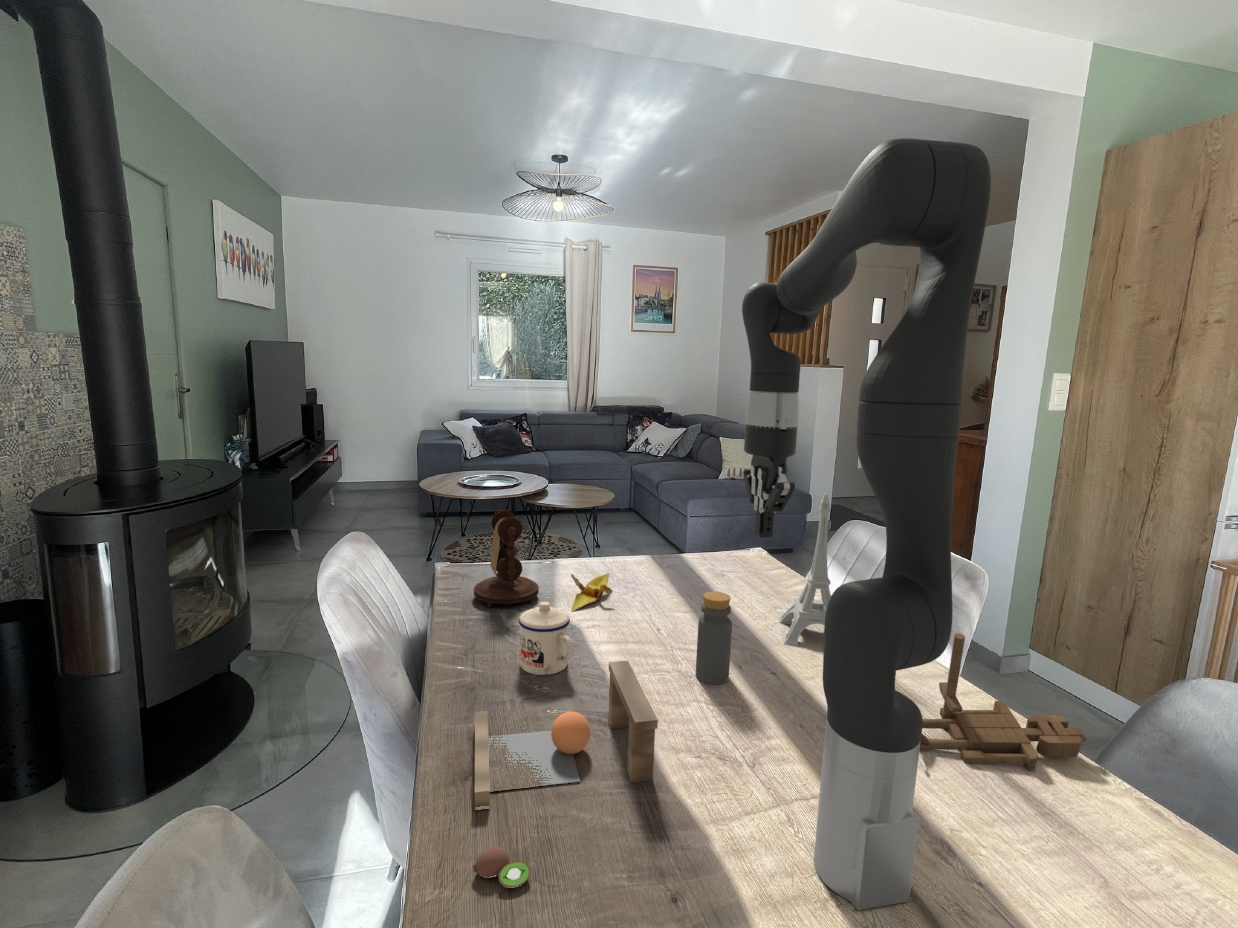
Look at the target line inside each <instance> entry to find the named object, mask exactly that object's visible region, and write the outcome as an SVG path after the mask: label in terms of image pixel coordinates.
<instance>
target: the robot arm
mask: <svg viewBox="0 0 1238 928" xmlns="http://www.w3.org/2000/svg"><path fill="white" fill-rule="evenodd" d="M991 184H992V177H991V166H990V163H989V160H988V157H987V155H986V153H984V151H983V150H982V148H980V147H978V146H976V145H974V144H971V143H965V142H958V141H943V140H931V139H920V138H919V139H918V138H911V137H909V138H908V137H905V138H892V139H889V140H886V141H884V142H881V143H880V144H879V145H877V146H876V147H875V148H874V149H873V150H872V151H870V153H869V154H868V155H867V156H866V157H865V158H864V159H863V161H862V162H861V163H860V165H859V166H858V167H857V169H856V170H855V172H854V173H853V174H852V176H851V177H850V179H849V181H848V183H847V184H846V186H844V189H842V190H843V191H842V192H841V193H840V195H839V197H837V198H838V199H836V202H835V203H834V204H833V206H832V208H831V209H830V211H829V213H828V215H826V216H827V217H826V218H825V220H824V222H823V223H822V225H821V226H820V228H819V230H818V231H817V233H816V235H815V236H814V237H813V239H812V240H811V242H810V243H809V244H808V246H807V247H806V248H804V250H803V251H802V252H801V253H800V254H798V255H797V257H796V258H794V260H793V261H792V262H790V264H789V265H788V266H787V267H786V268H785V269H784V270H783V271H782V273H781V274H780V275H779V277H778V280H777V282H764V281H763V282H761V281H760V282H756V283H754V284H752V285H751V286H750V287H749V288H748V289H747V290H746V292H745V295H744V297H743V299H742V305H741V307H742V308H741V312H742V313H741V314H742V315H741V316H742V320H743V324H744V325H743V326H744V328H745V333H746V337H747V339H746V340H747V344H748V351H749V356H750V357H749V358H750V378H749V379H750V380H749V392H748V400H747V404H746V411H745V412H746V414H745V428H744V441H743V442H744V443H743V444H744V445H743V446H744V447H743V451H744V452H745V453H746V454H748V455H751V456H752V458H751V461H750V468H747V469H745V468H744V469H743V472H742V474H743V478H744V483H745V487H746V492H747V497H748V502H749V504H750V505H753V509H754V511H755V524H754V525H755V528H754V533H755V535H756V536H758V537H759V538H772V536H773V531H774V517H775V516H774V515H775V514H777V513H781V512H783V511H784V509H785V507H786V505H787V503H788V502H789V500H790V498H791V496H792V494H793V493H794V491H795V489H796V487H795V486H796V485H795V483H794V482H790V481H789V480H788V479H787V474H788V465H787V459H788V458H789V457H793V456H795V454H796V451H797V440H798V439H797V437H798V427H799V426H798V424H799V414H800V413H799V412H800V411H799V410H800V407H799V406H800V403H799V392H800V390H799V389H800V376H801V358H800V356H799V354H798V353H795V352H794V351H790V350H786V349H782V348H779V347H777V346H776V344H775V343H774V340H773V337H772V335H771V334H779V335H780V334H781V335H783V334H785V335H799V334H802V333H806V332H808V331H810V330H811V329H813V327H814V325H815V323H817V319H818V317H819V315H820V313H821V311H822V310H823V308H824V307H825V306H826V305H828V304H829V303H831V301H833V300H835V299H836V298H837V297H838V296H839V295H841V294H842V293H843V292H844V291H845V290H846V289H847V287H848V286H849V285H850V284H851V283H852V280H853V278H854V276H855V274H856V270H857V262H858V258H857V255H858V254H857V251H858V250H860V249H862V248H863V247H866V246H868V245H871V244H873V243H875V244H880V245H885V246H895V247H897V246H898V247H911V248H919V258H918V260H919V261H918V269H917V271H918V272H917V276H916V281H915V285H914V289H913V293H912V295H911V296H912V297H911V300H910V302H909V304H908V306H907V308H906V310H905V312H904V314H903V316H902V317H901V319H900V321H899V322H898V324H897V325H896V327H895V328H894V330H893V331H892V332H891V334H890V335H889V337H888V338H887V339H886V341H884V343H883V345H882V346H881V348H880V349H879V350H878V352H877V354H876V355H875V357H874V358H873V360H872V361H871V363H870V365H869V366H868V368H867V370H866V372H865V373H864V376H863V379H862V381H861V385H860V388H859V396H858V400H859V402H858V406H857V407H858V409H857V411H858V412H857V422H856V423H857V424H856V426H857V427H856V431H857V432H856V451H857V456H858V459H859V463H860V466H861V468H862V470H863V472H864V476H865V478H866V480H867V481H868V484H869V486H870V488H871V491H872V493H873V495H874V497H875V498H876V501H877V502H878V505H879V508H880V510H881V513H882V516H883V520H884V525H885V533H886V534H885V537H886V539H885V541H886V543H885V544H886V547H885V560H884V561H885V562H884V566H883V567H884V568H883V573H882V577H875V578H869V579H868V578H867V579H862V580H861V579H860V580H855V581H849V582H847V583H843V584H841V585H840V586H838V587H837V588H836V589H835V590H834V591H833V592H832V593H831V598H830V600H829V602H828V605H827V610H826V615H825V625H823V626H824V629H823V655H822V657H823V661H822V687H823V693H824V697H825V701H826V706H827V712H826V719H825V720H826V721H825V731H824V743H823V752H822V753H823V755H822V763H821V775H820V784H819V785H820V786H819V797H818V806H817V807H818V808H817V818H816V833H815V842H814V854H813V855H814V856H813V863H814V868H815V870H816V872H817V875H818V876H819V878H820V879H821V881H822V882H823V883H824V884H825V885H827V887H828V888H829V889H831V890H832V891H833V892H834V893H836V894H837V895H838V896H841V898H844V899H846V900H847V901H849V902H850V903H851V904H852V906H853V907H854V908H855V909H856V910H857V911H863V910H868V909H869V910H870V909H875V908H880V907H884V906H889V905H892V906H893V905H896V904H901V903H907V902H910V897H911V887H912V879H913V870H914V863H915V854H916V848H917V847H916V846H917V837H918V836H917V835H918V829H919V819H918V818H917V816H915V814H914V813H913V806H914V801H915V800H914V799H915V792H916V784H917V783H916V782H917V775H918V774H917V773H918V765H919V753H920V751H919V750H920V742H921V735H922V734H923V728H922V726H923V719H924V718H923V714H922V712H921V710H920V708H919V706H918V705H917V704H916V703H915V702H914V701H913V700H912V699H911V698H910V697H908V696H906V695H905V694H903V693H902V692H900V691H897V690H896V677H897V676H896V675H897V671H901V670H906V669H910V668H914V667H919V666H923V665H926V664H929V663H932V662H934V661H935V660H937V659H938V658H940V657H941V656H942V655H943V654H944V652H945V651H946V649H947V647H948V645H949V642H950V639H951V635H952V630H953V629H952V628H953V585H952V584H953V582H952V581H953V579H952V578H953V576H952V575H953V574H952V548H951V547H952V521H953V507H954V491H955V489H954V488H955V472H956V462H957V461H956V460H957V455H958V454H957V453H958V447H959V439H960V437H959V436H960V432H961V431H960V430H961V429H960V428H961V419H962V418H961V417H962V407H963V405H962V404H963V384H964V369H965V359H966V358H965V356H966V348H967V336H968V330H969V323H970V322H969V321H970V314H971V305H972V299H973V294H974V288H975V280H976V277H977V272H978V266H979V262H980V256H981V250H982V245H983V240H984V236H985V230H986V224H987V219H988V215H989V214H988V213H989V208H990V200H991V191H992V189H991V188H992V187H991V186H992V185H991Z"/></svg>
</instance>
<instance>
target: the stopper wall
mask: <svg viewBox="0 0 1238 928" xmlns="http://www.w3.org/2000/svg"><path fill="white" fill-rule="evenodd" d="M488 713H489V712H488V710H482V711H474V808H475V807H480V806H490V807H491V793H490V779H489V745H488V737H489V716H488Z"/></svg>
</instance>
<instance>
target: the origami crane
mask: <svg viewBox="0 0 1238 928" xmlns="http://www.w3.org/2000/svg"><path fill="white" fill-rule="evenodd" d="M570 576H571V579H572V580H573V582H574V584H575V586H577V588H579V590H580V593H579V592H578V593H576V594H575V599H574V601H573V604H572V607H571V613H573V612H575V611H576V610H579V609H581V608H582V607H585V606H586V605H588V604H590V603H593V602H596V601H597V602H599V601H600V600H601V598H602V597H603V594H604V593H605V594H609V595H610V594H612V593H613V589H612V588H611V587H610V586H609V587H608V582H609V578H610V577H609V576H610V573H609V572H608V573H605V574H602V575H599V576H596V577H594V578H592V579H591V580H589V581H588V583H586V585H585V586H584V584H583V583H581V581H579V579H578V577H576V576H575V575H574V573H571V574H570Z"/></svg>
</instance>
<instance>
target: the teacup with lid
mask: <svg viewBox="0 0 1238 928" xmlns="http://www.w3.org/2000/svg"><path fill="white" fill-rule="evenodd" d="M570 623H571V619H570V616H569V614H568V613H567V612H566V611H564V610H563V609H561V608H560V609H559V608H556V607H553V606H551V603H550V602H548V601H541V602H540V603H539V604H538V606H536V607H535V608H531V609H528V610H525V611H524V612H523V613H521V615H520V616H519V618H518V624H519V666H520V669H522V670H523V671H524V672H526V673H528V674H532V675H535V676H548V675H554V674H557V673H560V672H561V671H563V670H564V669H565V668H567V666H568V663H569V662H570V661H571V660H572V659H573V657H574V655H575V644H574V642H573V640H572V639H571V638H570V636H569V625H570Z"/></svg>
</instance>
